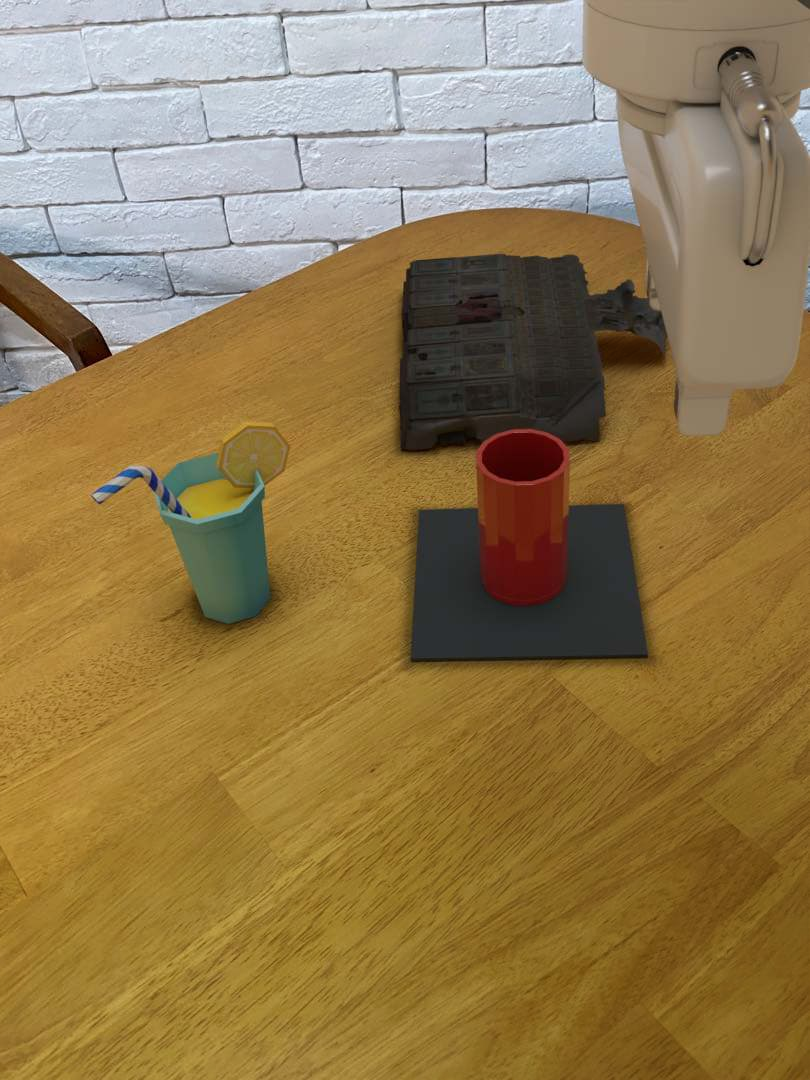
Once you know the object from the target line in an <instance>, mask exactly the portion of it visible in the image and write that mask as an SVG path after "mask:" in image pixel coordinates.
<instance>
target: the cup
mask: <svg viewBox="0 0 810 1080" xmlns="http://www.w3.org/2000/svg"><path fill="white" fill-rule="evenodd" d="M289 443H290V442H288V441H287V438H285V437H284V436H283V434H282V433H281V431H279V429H278V427H276V425H275V424H274V423H273V422H263V421H262V422H261V421H260V422H259V421H244V422H242V423H241V424H240V425H238V426H237V427H236V428H234V429H233V430H232V431H230V432H229V433H228V434H226V435H225V436H224V437H222V438H221V439H220V444H219V449H218V452H215V453H211V454H208V455H204V456H199V457H196V458H191V459H187V460H184V461H179V462H178V463H177V464H175V466H173V468H172V469H170V470H169V471H168V472H167V473H166V474H165V475H164V476H163V477H162V478H160V477H159V476H158V475H157V474H156V472H155V471H154V470H153V469H152V468H150V467H147V466H145V465H131V464H130V465H129V466H128V467H126V468H124V469H123V470H122V471H121V472H120V473H118V474H117V475H115V476H114V477H113V478H111V479H110V480H109V481H107V482H106V483H105V484H104V485H102V486H100V487H99V488H98V489H96V490H95V491H94V492H93V493H91V494H90V496H91V498H92V500H94V501H95V502H96V503H97V505H99V506H100V505H102V504H103V503H104V502H106V501H107V500H109V499H111V497H112V496H115V494H117V493H119V491H121V490H123V489H124V488H125V487H127V486H128V485H129V484H132V482H133V481H135V480H136V479H138V478H139V479H140V478H141V479H142V480H143V481H144V482H145V483H146V484H147V485H148V487H149V488H150V489H151V491H153V495H154V499H155V501H156V505H157V508H158V509H157V510H158V512H159V516H160V517H161V520H162V521H163V524H164V525H166V526H168V527H169V529H170V532H171V534H172V537H173V539H174V541H175V544H176V548H177V550H178V551H179V554H180V557H181V559H182V562H183V566H184V568H185V569H186V572H187V575H188V577H189V580H190V582H191V585H192V588H193V590H194V593H195V595H196V598H197V600H198V603H199V605H200V608H201V610H202V613H203V615H204V617H205V618H208V619H211V620H214V621H217V622H221V623H224V624H226V625H230V624H234V623H237V622H241V621H244V620H247V619H251V618H254V617H257V615H258V614H259V613H260V612H261V611H262V609H263V608H264V607H265V606H266V605H267V603H268V602H269V601H270V600H271V590H270V589H271V588H270V579H269V569H268V568H269V567H268V556H267V545H266V536H265V533H266V532H265V522H264V512H263V500H264V499H265V498H266V493H265V492H266V489H265V488H266V485H268V484H269V483H270V482H272V481H273V480H274V479H276V478H277V477H279V476H280V475H281V474H283V473H284V472H285V469H286V466H287V461H288V457H289V453H290V449H291V445H290V444H289Z"/></svg>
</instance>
